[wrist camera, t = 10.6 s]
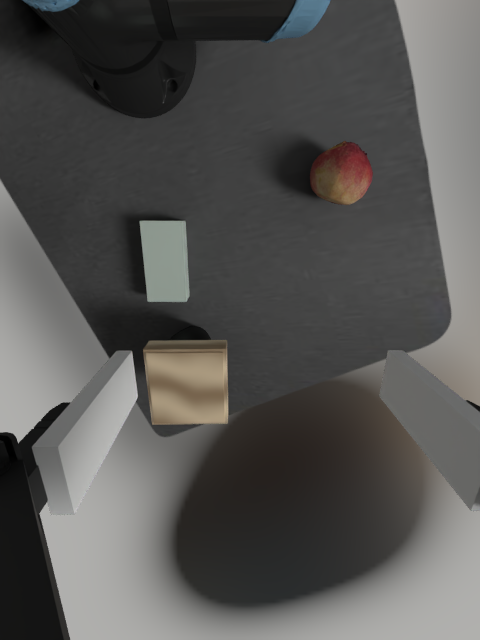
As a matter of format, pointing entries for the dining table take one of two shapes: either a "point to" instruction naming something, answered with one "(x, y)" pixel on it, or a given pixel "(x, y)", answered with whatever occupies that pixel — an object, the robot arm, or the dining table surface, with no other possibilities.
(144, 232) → the sage green box base
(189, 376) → the lid
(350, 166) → the fruit
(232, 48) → the dining table surface
